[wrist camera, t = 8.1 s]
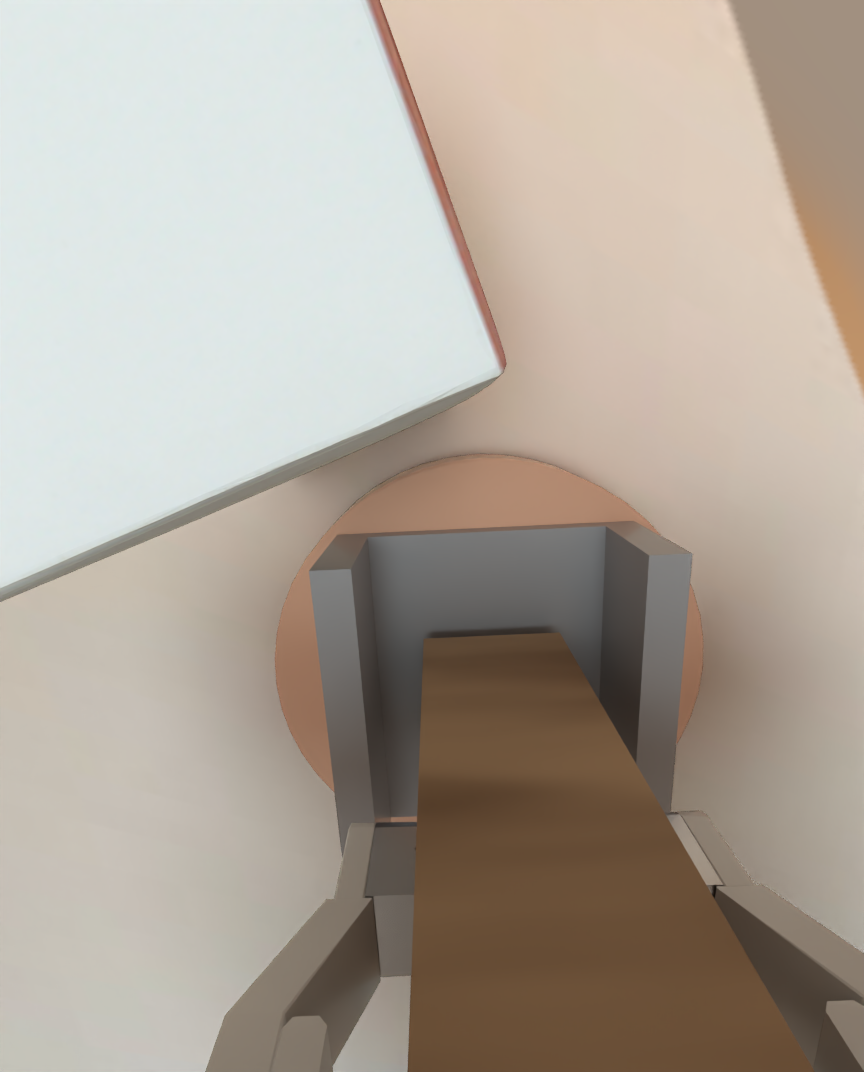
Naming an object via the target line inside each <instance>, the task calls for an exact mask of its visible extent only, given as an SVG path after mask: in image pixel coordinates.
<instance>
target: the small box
mask: <svg viewBox="0 0 864 1072" xmlns="http://www.w3.org/2000/svg"><path fill="white" fill-rule="evenodd" d="M505 367H506V359H505V354H504V351H503V348H502V345H501V342H500V339H499V336H498V333H497V329H496V326H495V324H494V321H493V318H492V315H491V312H490V309H489V307H488V304H487V301H486V298H485V295H484V293H483V290H482V287H481V284H480V281H479V279H478V276H477V273H476V270H475V267H474V264H473V262H472V259H471V256H470V253H469V250H468V248H467V245H466V242H465V239H464V236H463V233H462V231H461V228H460V225H459V222H458V219H457V216H456V214H455V211H454V208H453V205H452V202H451V199H450V196H449V194H448V191H447V188H446V185H445V182H444V179H443V177H442V174H441V171H440V168H439V165H438V162H437V160H436V157H435V154H434V151H433V148H432V145H431V143H430V140H429V137H428V134H427V131H426V128H425V126H424V123H423V120H422V117H421V114H420V111H419V109H418V106H417V103H416V100H415V97H414V95H413V92H412V89H411V86H410V83H409V80H408V78H407V75H406V72H405V69H404V66H403V63H402V61H401V58H400V55H399V52H398V49H397V47H396V44H395V41H394V38H393V36H392V33H391V30H390V27H389V25H388V22H387V19H386V16H385V14H384V11H383V8H382V5H381V3H380V0H0V602H1V601H4V600H6V599H8V598H11V597H13V596H16V595H18V594H20V593H23V592H25V591H27V590H30V589H32V588H35V587H37V586H39V585H42V584H44V583H47V582H49V581H51V580H54V579H56V578H59V577H61V576H63V575H66V574H68V573H71V572H73V571H75V570H78V569H80V568H83V567H85V566H87V565H90V564H92V563H95V562H97V561H99V560H102V559H104V558H107V557H109V556H111V555H114V554H116V553H119V552H121V551H123V550H126V549H128V548H131V547H133V546H135V545H138V544H140V543H143V542H145V541H147V540H150V539H152V538H155V537H157V536H159V535H162V534H164V533H167V532H169V531H171V530H174V529H176V528H179V527H181V526H183V525H186V524H188V523H190V522H193V521H195V520H197V519H200V518H202V517H205V516H207V515H209V514H212V513H214V512H216V511H219V510H221V509H223V508H226V507H228V506H230V505H233V504H235V503H237V502H240V501H242V500H244V499H247V498H249V497H251V496H254V495H256V494H259V493H261V492H263V491H266V490H268V489H270V488H273V487H275V486H277V485H280V484H282V483H284V482H287V481H289V480H291V479H294V478H296V477H298V476H300V475H303V474H305V473H307V472H310V471H312V470H314V469H316V468H319V467H321V466H323V465H326V464H328V463H330V462H332V461H335V460H337V459H339V458H342V457H344V456H346V455H348V454H351V453H353V452H355V451H358V450H360V449H362V448H364V447H367V446H369V445H371V444H374V443H376V442H378V441H380V440H382V439H385V438H387V437H389V436H391V435H393V434H396V433H398V432H400V431H402V430H404V429H407V428H409V427H411V426H413V425H415V424H418V423H420V422H422V421H424V420H426V419H428V418H430V417H432V416H434V415H437V414H439V413H441V412H443V411H445V410H447V409H449V408H451V407H454V406H456V405H457V404H459V403H461V402H463V401H465V400H467V399H469V398H470V397H472V396H474V395H475V394H477V393H478V392H480V391H481V390H483V389H484V388H485V387H487V386H489V385H490V384H491V383H492V382H493V381H495V380H496V379H497V378H498V377H499V376H500V375H501V374H502V373H503V372H504V369H505Z"/></svg>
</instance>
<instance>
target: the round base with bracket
mask: <svg viewBox="0 0 864 1072" xmlns="http://www.w3.org/2000/svg"><path fill="white" fill-rule="evenodd" d="M691 564H692V553H691V552H689V551H687V550H685V549H683V548H682V547H680V546H678V545H676V544H674V543H673V542H671V541H669V540H667V539H665V538H664V537H662V536H661V535H660V534H659V533H658V532H657V531H656V530H655V528H654V527H653V526H652V525H651V524H650V523H649V522H648V521H647V520H646V519H645V518H644V517H642V516H641V515H640V514H639V513H638V512H637V511H635V510H634V509H633V508H632V507H631V506H629V505H628V504H627V503H626V502H624V501H622V500H621V499H619V498H618V497H616V496H614V495H613V494H611V493H610V492H608V491H607V490H605V489H603V488H602V487H600V486H597V485H595V484H593V483H591V482H589V481H587V480H585V479H582V478H580V477H578V476H576V475H574V474H571V473H569V472H567V471H565V470H562V469H560V468H558V467H556V466H553V465H550V464H546V463H543V462H539V461H536V460H532V459H529V458H522V457H516V456H509V455H499V454H473V455H464V456H456V457H448V458H444V459H440V460H436V461H432V462H428V463H424V464H422V465H419V466H417V467H414V468H412V469H409V470H407V471H404V472H402V473H399V474H397V475H396V476H394V477H392V478H390V479H388V480H387V481H385V482H383V483H381V484H379V485H378V486H376V487H375V488H373V489H372V490H371V491H369V492H368V493H367V494H365V495H364V496H363V497H361V498H360V499H359V500H357V501H356V502H355V503H354V504H353V505H352V506H351V507H350V508H349V509H348V510H347V511H346V512H345V513H344V514H343V515H342V516H341V517H340V518H339V519H338V520H337V521H336V522H335V523H334V525H333V526H332V527H331V528H330V529H329V530H328V531H327V533H326V534H325V535H324V536H323V537H322V538H321V540H320V541H319V542H318V544H317V545H316V546H315V548H314V549H313V550H312V551H311V553H310V554H309V555H308V557H307V558H306V559H305V561H304V563H303V565H302V567H301V568H300V570H299V572H298V574H297V575H296V577H295V579H294V581H293V583H292V585H291V588H290V590H289V593H288V595H287V598H286V601H285V603H284V606H283V608H282V613H281V617H280V622H279V626H278V631H277V638H276V651H275V669H276V683H277V689H278V693H279V698H280V702H281V707H282V710H283V713H284V716H285V719H286V721H287V724H288V727H289V729H290V732H291V734H292V736H293V738H294V739H295V741H296V743H297V745H298V747H299V749H300V751H301V753H302V754H303V755H304V757H305V758H306V760H307V761H308V762H309V764H310V765H311V767H312V768H313V769H314V771H315V772H316V773H317V774H318V776H319V777H320V778H321V779H322V780H323V781H324V782H325V783H326V784H327V785H328V786H329V787H330V788H331V789H332V790H333V791H334V792H335V800H336V808H337V817H338V825H339V834H340V843H341V851H342V858H343V853H344V848H345V844H346V839H347V834H348V829H349V827H350V825H351V823H376V822H417V806H418V779H419V752H420V724H421V697H422V670H423V643H424V639H427V638H449V637H471V636H493V635H515V634H537V633H558V632H560V634H561V636H562V637H563V639H564V641H565V642H566V644H567V646H568V648H569V649H570V651H571V653H572V655H573V656H574V658H575V660H576V661H577V663H578V665H579V667H580V668H581V670H582V672H583V673H584V675H585V677H586V679H587V680H588V682H589V684H590V686H591V687H592V689H593V691H594V692H595V694H596V696H597V698H598V699H599V701H600V703H601V704H602V706H603V708H604V710H605V711H606V713H607V715H608V716H609V718H610V720H611V722H612V723H613V725H614V727H615V729H616V730H617V732H618V734H619V735H620V737H621V739H622V741H623V742H624V744H625V746H626V747H627V749H628V751H629V753H630V754H631V756H632V758H633V760H634V761H635V763H636V765H637V766H638V768H639V770H640V772H641V773H642V775H643V777H644V778H645V780H646V782H647V784H648V785H649V787H650V789H651V791H652V792H653V794H654V796H655V797H656V799H657V801H658V803H659V804H660V806H661V808H662V809H663V811H664V813H666V812H670V811H671V799H672V787H673V776H674V764H675V752H676V744H677V743H678V741H679V739H680V738H681V736H682V734H683V731H684V729H685V727H686V725H687V723H688V721H689V719H690V717H691V714H692V711H693V708H694V705H695V701H696V698H697V695H698V692H699V686H700V680H701V675H702V669H703V634H702V626H701V618H700V613H699V609H698V606H697V602H696V599H695V595H694V592H693V589H692V587H691V584H690V576H691Z"/></svg>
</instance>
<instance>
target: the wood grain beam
mask: <svg viewBox="0 0 864 1072" xmlns="http://www.w3.org/2000/svg"><path fill="white" fill-rule="evenodd" d="M408 1072H815V1071H814V1069H813V1068H812V1066H811V1064H810V1063H809V1061H808V1059H807V1057H806V1056H805V1054H804V1052H803V1051H802V1049H801V1047H800V1045H799V1044H798V1042H797V1040H796V1038H795V1037H794V1035H793V1033H792V1032H791V1030H790V1028H789V1026H788V1025H787V1023H786V1021H785V1020H784V1018H783V1016H782V1014H781V1013H780V1011H779V1009H778V1007H777V1006H776V1004H775V1002H774V1001H773V999H772V997H771V995H770V994H769V992H768V990H767V989H766V987H765V985H764V983H763V982H762V980H761V978H760V976H759V975H758V973H757V971H756V970H755V968H754V966H753V964H752V963H751V961H750V959H749V958H748V956H747V954H746V952H745V951H744V949H743V947H742V945H741V944H740V942H739V940H738V939H737V937H736V935H735V933H734V932H733V930H732V928H731V927H730V925H729V923H728V921H727V920H726V918H725V916H724V915H723V913H722V911H721V909H720V908H719V906H718V904H717V902H716V901H715V899H714V897H713V896H712V894H711V892H710V890H709V889H708V887H707V885H706V884H705V882H704V880H703V878H702V877H701V875H700V873H699V871H698V870H697V868H696V866H695V865H694V863H693V861H692V859H691V858H690V856H689V854H688V853H687V851H686V849H685V847H684V846H683V844H682V842H681V840H680V839H679V837H678V835H677V834H676V832H675V830H674V828H673V827H672V825H671V823H670V822H669V820H668V818H667V816H666V815H665V813H664V811H663V809H662V808H661V806H660V804H659V803H658V801H657V799H656V797H655V796H654V794H653V792H652V791H651V789H650V787H649V785H648V784H647V782H646V780H645V778H644V777H643V775H642V773H641V772H640V770H639V768H638V766H637V765H636V763H635V761H634V760H633V758H632V756H631V754H630V753H629V751H628V749H627V747H626V746H625V744H624V742H623V741H622V739H621V737H620V735H619V734H618V732H617V730H616V729H615V727H614V725H613V723H612V722H611V720H610V718H609V716H608V715H607V713H606V711H605V710H604V708H603V706H602V704H601V703H600V701H599V699H598V698H597V696H596V694H595V692H594V691H593V689H592V687H591V686H590V684H589V682H588V680H587V679H586V677H585V675H584V673H583V672H582V670H581V668H580V667H579V665H578V663H577V661H576V660H575V658H574V656H573V655H572V653H571V651H570V649H569V648H568V646H567V644H566V642H565V641H564V639H563V637H562V636H561V634H560V632H558V633H537V634H515V635H493V636H471V637H449V638H427V639H424V643H423V670H422V697H421V724H420V752H419V779H418V806H417V833H416V860H415V887H414V915H413V942H412V969H411V996H410V1023H409V1051H408Z"/></svg>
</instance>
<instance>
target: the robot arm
mask: <svg viewBox="0 0 864 1072" xmlns="http://www.w3.org/2000/svg"><path fill="white" fill-rule="evenodd" d="M665 815H666V816H667V818H668V820H669V822H670V823H671V825H672V827H673V828H674V830H675V832H676V834H677V835H678V837H679V839H680V840H681V842H682V844H683V846H684V847H685V849H686V851H687V853H688V854H689V856H690V858H691V859H692V861H693V863H694V865H695V866H696V868H697V870H698V871H699V873H700V875H701V877H702V878H703V880H704V882H705V884H706V885H707V887H708V889H709V890H710V892H711V894H712V896H713V897H714V899H715V901H716V902H717V904H718V906H719V908H720V909H721V911H722V913H723V915H724V916H725V918H726V920H727V921H728V923H729V925H730V927H731V928H732V930H733V932H734V933H735V935H736V937H737V939H738V940H739V942H740V944H741V945H742V947H743V949H744V951H745V952H746V954H747V956H748V958H749V959H750V961H751V963H752V964H753V966H754V968H755V970H756V971H757V973H758V975H759V976H760V978H761V980H762V982H763V983H764V985H765V987H766V989H767V990H768V992H769V994H770V995H771V997H772V999H773V1001H774V1002H775V1004H776V1006H777V1007H778V1009H779V1011H780V1013H781V1014H782V1016H783V1018H784V1020H785V1021H786V1023H787V1025H788V1026H789V1028H790V1030H791V1032H792V1033H793V1035H794V1037H795V1038H796V1040H797V1042H798V1044H799V1045H800V1047H801V1049H802V1051H803V1052H804V1054H805V1056H806V1057H807V1059H808V1061H809V1063H810V1064H811V1066H812V1068H813V1069H814V1071H815V1072H864V953H862V952H861V951H859V950H858V949H856V948H855V947H853V946H852V945H850V944H849V943H848V942H846V941H845V940H843V939H842V938H840V937H839V936H837V935H836V934H834V933H833V932H831V931H830V930H828V929H827V928H826V927H824V926H823V925H821V924H820V923H818V922H817V921H815V920H814V919H812V918H811V917H809V916H808V915H806V914H805V913H804V912H802V911H801V910H799V909H798V908H796V907H795V906H793V905H792V904H790V903H789V902H787V901H786V900H784V899H783V898H782V897H780V896H779V895H777V894H776V893H774V892H773V891H771V890H770V889H768V888H767V887H765V886H764V885H755V884H754V883H753V881H752V880H751V879H750V877H749V876H748V874H747V873H746V871H745V870H744V868H743V867H742V865H741V864H740V862H739V861H738V860H737V858H736V857H735V855H734V854H733V852H732V851H731V849H730V848H729V846H728V845H727V844H726V842H725V841H724V839H723V838H722V836H721V835H720V833H719V832H718V830H717V829H716V827H715V826H714V825H713V823H712V822H711V820H710V819H709V817H708V816H707V814H705V813H704V812H702V811H685V812H676V813H674V812H666V813H665ZM416 833H417V822H376V823H351V825H350V827H349V829H348V834H347V839H346V844H345V848H344V853H343V858H342V863H341V868H340V873H339V877H338V882H337V887H336V892H335V897H334V899H326V900H325V901H324V903H323V904H322V905H321V906H320V907H319V908H318V909H317V911H316V912H315V913H314V914H313V915H312V916H311V917H310V919H309V920H308V921H307V922H306V923H305V924H304V925H303V927H302V928H301V929H300V930H299V931H298V932H297V933H296V935H295V936H294V937H293V938H292V939H291V940H290V941H289V943H288V944H287V945H286V946H285V947H284V948H283V950H282V951H281V952H280V953H279V954H278V955H277V956H276V958H275V959H274V960H273V961H272V962H271V963H270V964H269V966H268V967H267V968H266V969H265V970H264V971H263V972H262V974H261V975H260V976H259V977H258V978H257V979H256V980H255V982H254V983H253V984H252V985H251V986H250V987H249V988H248V990H247V991H246V992H245V993H244V994H243V995H242V996H241V998H240V999H239V1000H238V1001H237V1002H236V1003H235V1004H234V1006H233V1007H232V1008H231V1009H230V1010H229V1011H228V1012H227V1014H226V1015H225V1017H224V1020H223V1023H222V1026H221V1028H220V1031H219V1034H218V1037H217V1040H216V1043H215V1046H214V1048H213V1051H212V1054H211V1057H210V1060H209V1063H208V1066H207V1068H206V1071H205V1072H333V1067H332V1066H333V1064H334V1063H335V1061H336V1059H337V1057H338V1056H339V1054H340V1052H341V1050H342V1048H343V1047H344V1045H345V1043H346V1041H347V1040H348V1038H349V1036H350V1034H351V1032H352V1031H353V1029H354V1027H355V1025H356V1024H357V1022H358V1020H359V1018H360V1016H361V1015H362V1013H363V1011H364V1009H365V1008H366V1006H367V1004H368V1002H369V1000H370V999H371V997H372V995H373V993H374V992H375V990H376V988H377V986H378V985H379V983H380V981H381V980H380V977H391V976H406V975H411V969H412V942H413V915H414V887H415V860H416Z"/></svg>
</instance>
